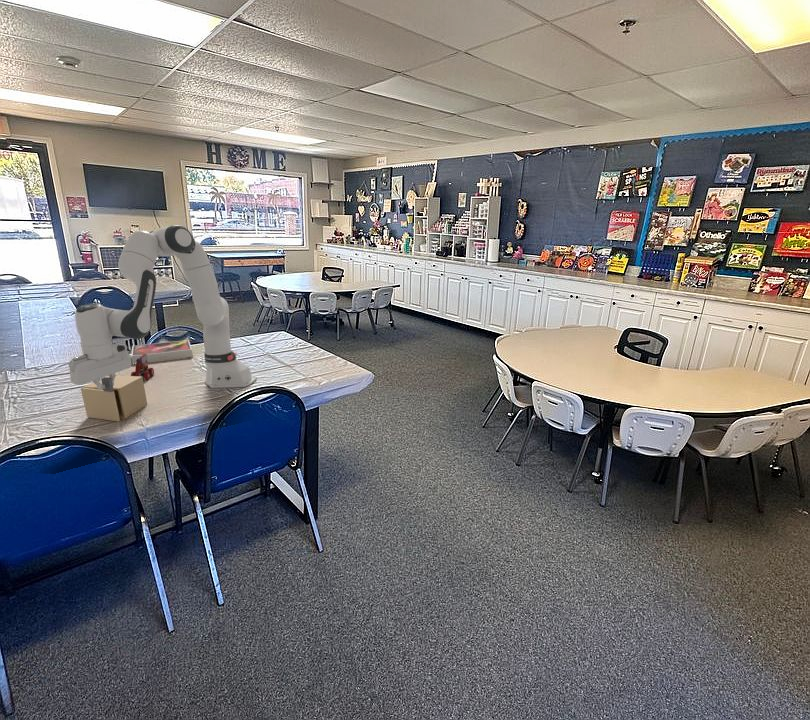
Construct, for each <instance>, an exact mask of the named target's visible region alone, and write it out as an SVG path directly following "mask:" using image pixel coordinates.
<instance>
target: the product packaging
mask: <svg viewBox="0 0 810 720" xmlns="http://www.w3.org/2000/svg"><path fill="white" fill-rule="evenodd" d="M130 354H131V355H130V358H131V365H134V364H133V363H137V362H136V360H137V359H138V358H139V357H140V356H142V355H143V354H146V355H147V362H150V363H155V361H158V362H166V361H173V360H172V359H175V360H181V359H180V358H183V359H188V358H187V357H191V358H194V354H193V349H192V346H191V342H190V340H189V339H185V340H176V341H168V342H156V343H149V344H148V343H145V344H138V345H131V353H130ZM165 360H166V361H165Z"/></svg>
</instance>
